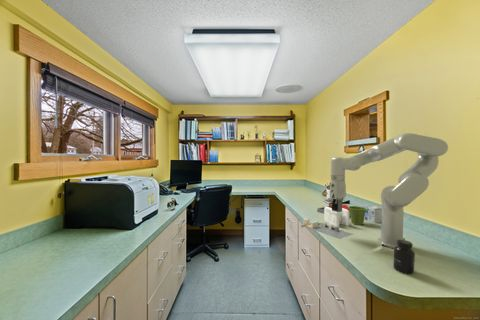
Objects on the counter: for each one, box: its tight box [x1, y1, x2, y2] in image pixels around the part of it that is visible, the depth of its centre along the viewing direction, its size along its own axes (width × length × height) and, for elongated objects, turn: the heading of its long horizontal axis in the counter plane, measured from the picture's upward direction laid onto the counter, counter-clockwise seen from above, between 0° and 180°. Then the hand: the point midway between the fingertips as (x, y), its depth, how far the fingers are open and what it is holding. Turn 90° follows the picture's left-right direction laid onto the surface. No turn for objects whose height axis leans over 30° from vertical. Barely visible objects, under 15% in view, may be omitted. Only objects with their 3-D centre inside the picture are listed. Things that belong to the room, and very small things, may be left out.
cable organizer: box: [323, 206, 350, 228], centre depth 144 cm, size 15×11×12 cm
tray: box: [317, 205, 351, 219], centre depth 176 cm, size 24×28×3 cm
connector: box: [332, 198, 343, 212], centre depth 122 cm, size 4×4×8 cm
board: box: [300, 218, 353, 240], centre depth 131 cm, size 27×14×5 cm, turn 33°
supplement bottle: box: [392, 239, 416, 275], centre depth 86 cm, size 7×7×12 cm
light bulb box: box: [362, 204, 382, 224], centre depth 156 cm, size 11×7×11 cm, turn 17°
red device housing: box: [328, 203, 350, 213], centre depth 176 cm, size 18×14×5 cm
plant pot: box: [348, 205, 367, 226], centre depth 148 cm, size 12×12×11 cm
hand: (336, 209), depth 122 cm, fingers closed on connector, 4 cm apart
